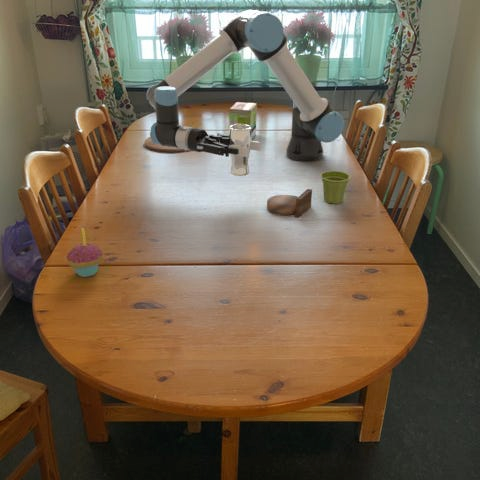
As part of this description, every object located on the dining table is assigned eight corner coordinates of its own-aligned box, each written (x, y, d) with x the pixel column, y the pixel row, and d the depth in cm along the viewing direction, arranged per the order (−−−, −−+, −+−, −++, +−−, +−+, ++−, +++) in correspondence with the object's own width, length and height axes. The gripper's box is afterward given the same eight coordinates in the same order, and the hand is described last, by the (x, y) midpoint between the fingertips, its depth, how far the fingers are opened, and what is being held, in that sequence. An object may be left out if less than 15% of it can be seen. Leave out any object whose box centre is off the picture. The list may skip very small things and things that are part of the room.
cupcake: (73, 264, 127) (66, 221, 122) (107, 262, 128) (102, 220, 122) (66, 282, 120) (58, 237, 114) (102, 280, 120) (96, 236, 115)
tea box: (250, 143, 222) (251, 109, 215) (228, 141, 223) (228, 108, 216) (256, 134, 235) (257, 102, 228) (235, 132, 236) (235, 101, 230)
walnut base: (260, 210, 157) (260, 193, 154) (276, 197, 166) (277, 180, 164) (297, 219, 152) (299, 201, 149) (312, 205, 161) (313, 188, 158)
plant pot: (330, 208, 159) (332, 182, 155) (313, 198, 166) (314, 173, 162) (353, 203, 163) (356, 177, 159) (335, 193, 170) (338, 169, 166)
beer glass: (237, 167, 166) (237, 122, 159) (254, 171, 162) (255, 126, 155) (224, 173, 161) (224, 127, 154) (242, 178, 157) (242, 131, 150)
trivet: (133, 149, 214) (133, 144, 213) (163, 134, 235) (162, 130, 234) (185, 156, 206) (185, 151, 205) (211, 140, 226) (211, 136, 225)
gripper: (208, 142, 174) (267, 152, 165) (175, 158, 159) (238, 170, 149) (207, 121, 171) (268, 130, 161) (174, 135, 156) (238, 146, 146)
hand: (254, 149), depth 155 cm, fingers closed on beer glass, 7 cm apart
